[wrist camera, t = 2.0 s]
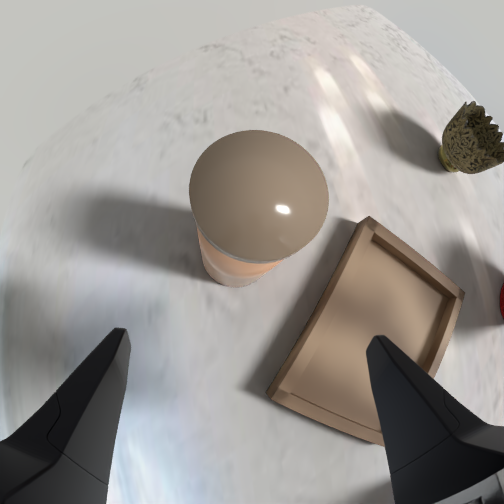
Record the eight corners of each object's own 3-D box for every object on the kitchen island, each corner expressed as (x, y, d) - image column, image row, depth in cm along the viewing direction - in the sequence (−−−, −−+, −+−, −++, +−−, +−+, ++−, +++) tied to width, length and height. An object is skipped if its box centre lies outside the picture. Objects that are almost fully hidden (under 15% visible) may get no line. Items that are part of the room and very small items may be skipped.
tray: (383, 443, 21) (395, 450, 19) (265, 392, 21) (270, 399, 19) (451, 294, 25) (465, 292, 23) (358, 223, 25) (369, 215, 23)
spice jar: (247, 302, 22) (288, 287, 10) (186, 264, 22) (160, 208, 10) (283, 243, 23) (348, 175, 12) (224, 207, 23) (238, 110, 12)
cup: (444, 195, 27) (492, 166, 19) (413, 137, 28) (454, 99, 20) (473, 182, 29) (516, 157, 21) (447, 132, 30) (483, 100, 22)
